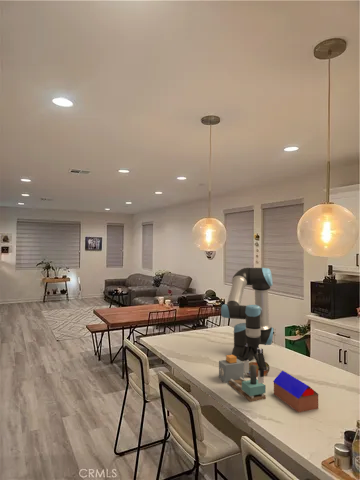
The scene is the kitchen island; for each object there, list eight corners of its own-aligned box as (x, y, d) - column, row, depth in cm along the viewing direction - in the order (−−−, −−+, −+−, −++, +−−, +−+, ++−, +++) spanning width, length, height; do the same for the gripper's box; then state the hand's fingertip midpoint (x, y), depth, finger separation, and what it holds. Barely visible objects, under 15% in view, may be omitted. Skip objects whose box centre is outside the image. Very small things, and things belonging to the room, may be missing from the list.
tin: (247, 378, 184) (247, 363, 185) (244, 376, 188) (244, 361, 188) (269, 375, 189) (269, 361, 189) (267, 373, 192) (267, 359, 192)
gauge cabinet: (236, 375, 189) (236, 358, 189) (244, 380, 181) (243, 362, 182) (218, 378, 185) (218, 360, 185) (224, 383, 177) (224, 365, 177)
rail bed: (228, 383, 177) (228, 379, 177) (242, 381, 180) (242, 376, 180) (250, 401, 156) (250, 396, 156) (265, 398, 159) (265, 393, 159)
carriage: (241, 389, 164) (241, 364, 164) (256, 386, 167) (256, 361, 167) (250, 396, 156) (250, 369, 157) (265, 393, 159) (265, 367, 160)
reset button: (232, 359, 186) (232, 354, 186) (236, 362, 182) (236, 357, 182) (226, 360, 185) (226, 355, 185) (229, 363, 181) (229, 357, 181)
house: (292, 390, 168) (291, 368, 169) (319, 409, 150) (319, 384, 150) (272, 394, 165) (272, 371, 165) (298, 413, 146) (298, 387, 146)
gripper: (234, 330, 173) (234, 369, 172) (260, 343, 149) (261, 388, 149) (246, 329, 175) (246, 368, 175) (274, 341, 152) (274, 386, 151)
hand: (253, 377), depth 162 cm, fingers open, 12 cm apart
